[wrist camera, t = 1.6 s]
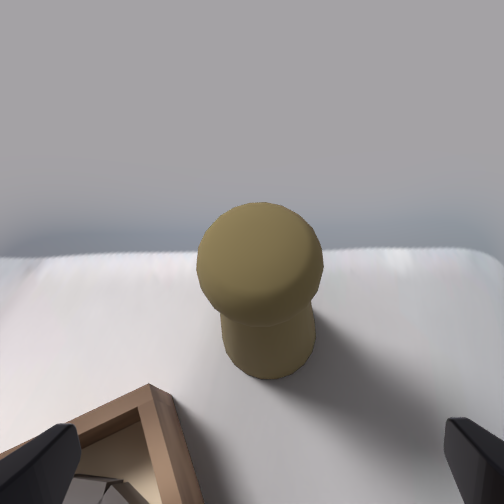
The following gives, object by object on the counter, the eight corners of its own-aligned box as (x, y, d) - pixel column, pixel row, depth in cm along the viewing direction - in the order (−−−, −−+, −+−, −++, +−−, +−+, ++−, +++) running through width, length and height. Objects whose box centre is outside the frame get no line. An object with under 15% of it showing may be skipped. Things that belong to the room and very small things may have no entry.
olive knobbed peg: (286, 273, 24) (287, 159, 15) (334, 350, 21) (374, 269, 12) (208, 312, 23) (155, 216, 14) (247, 398, 20) (214, 351, 11)
